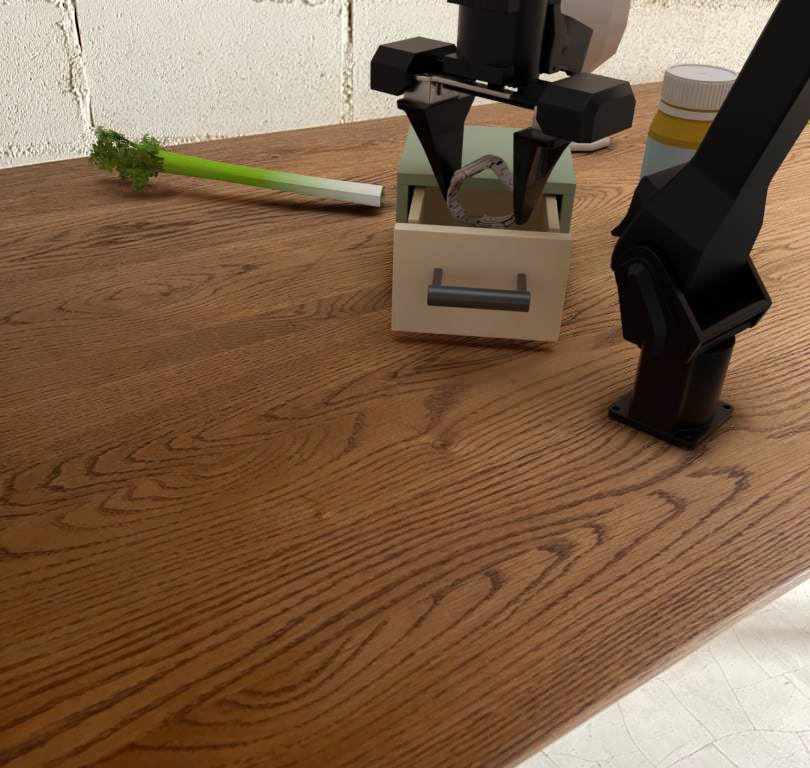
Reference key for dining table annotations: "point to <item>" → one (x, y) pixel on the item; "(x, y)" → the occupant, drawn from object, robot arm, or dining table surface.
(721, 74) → the bottle
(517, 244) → the drawer
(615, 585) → the dining table surface
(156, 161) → the leek
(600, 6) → the wineglass
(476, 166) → the wristwatch
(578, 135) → the robot arm
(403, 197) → the cabinet
